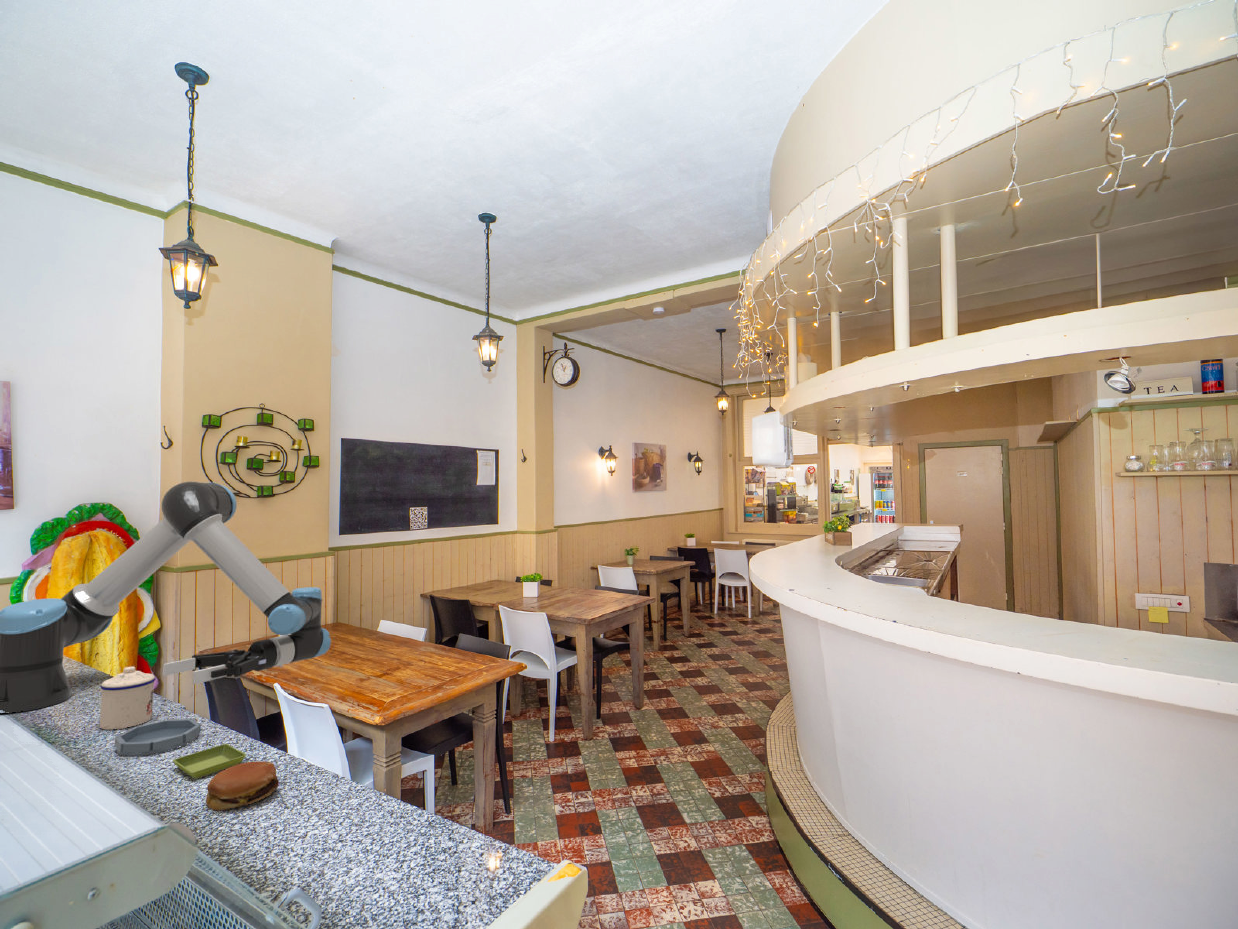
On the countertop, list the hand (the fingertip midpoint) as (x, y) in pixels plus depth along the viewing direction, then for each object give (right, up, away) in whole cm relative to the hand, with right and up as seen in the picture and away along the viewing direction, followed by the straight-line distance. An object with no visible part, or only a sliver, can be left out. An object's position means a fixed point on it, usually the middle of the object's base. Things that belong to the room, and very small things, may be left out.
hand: (178, 674), depth 136 cm
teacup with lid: (-5, -7, -9) cm, 13 cm away
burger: (+42, -5, -42) cm, 59 cm away
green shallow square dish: (+29, -6, -31) cm, 43 cm away
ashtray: (+12, -6, -21) cm, 24 cm away
